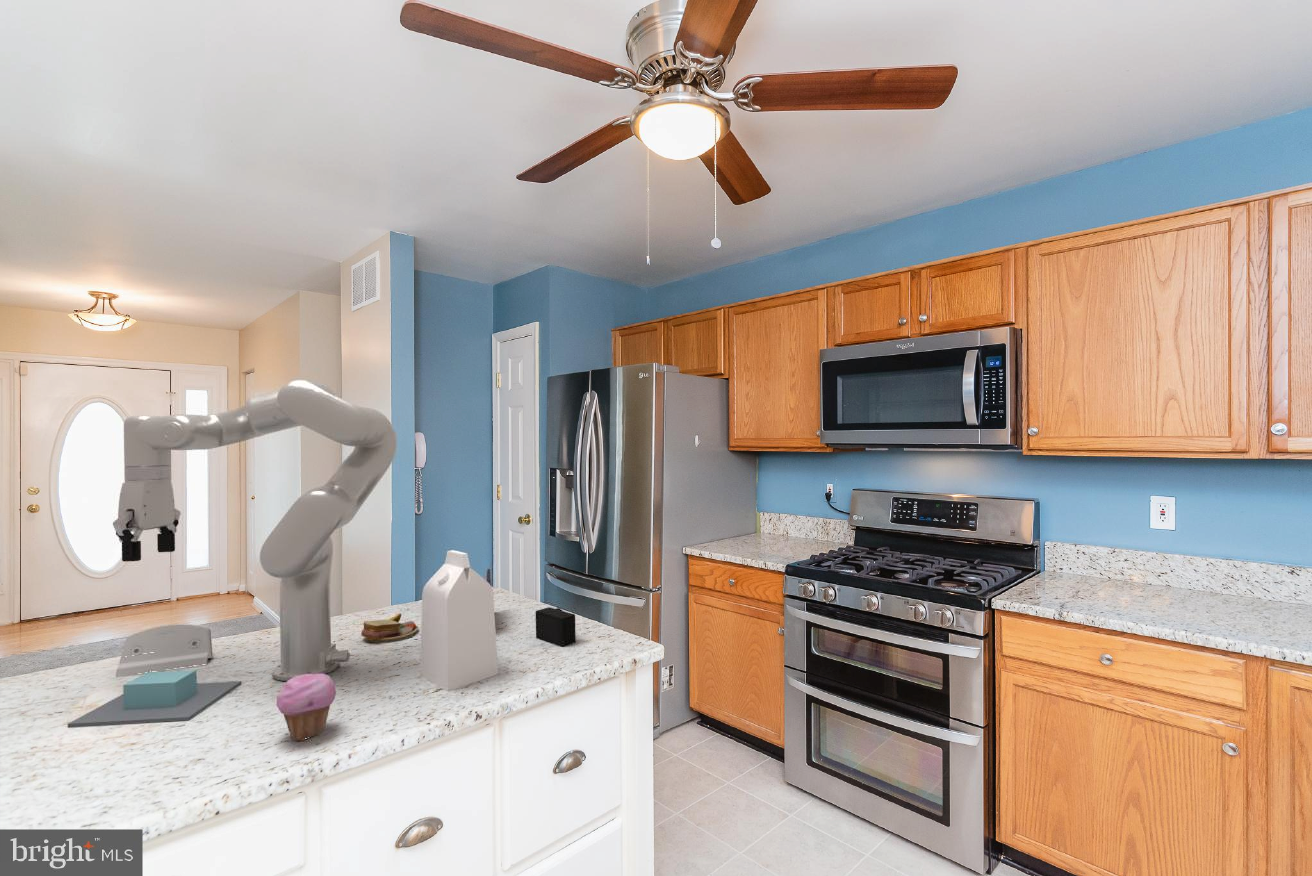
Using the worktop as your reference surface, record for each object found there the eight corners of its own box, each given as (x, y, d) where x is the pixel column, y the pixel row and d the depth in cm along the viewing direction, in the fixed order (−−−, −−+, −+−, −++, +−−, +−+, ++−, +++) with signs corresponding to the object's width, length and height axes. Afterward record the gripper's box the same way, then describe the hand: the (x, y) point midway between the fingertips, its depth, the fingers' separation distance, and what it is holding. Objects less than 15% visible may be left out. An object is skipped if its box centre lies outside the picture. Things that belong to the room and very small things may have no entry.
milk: (498, 674, 127) (496, 551, 127) (447, 691, 119) (445, 560, 119) (469, 660, 135) (467, 545, 135) (419, 675, 127) (417, 552, 127)
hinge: (113, 677, 128) (119, 629, 131) (121, 677, 132) (127, 630, 135) (208, 664, 135) (211, 618, 138) (213, 665, 139) (217, 620, 142)
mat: (241, 684, 124) (241, 681, 124) (188, 720, 108) (188, 717, 108) (137, 689, 122) (137, 686, 122) (67, 727, 106) (67, 723, 106)
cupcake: (271, 734, 102) (270, 675, 102) (327, 717, 108) (326, 661, 108) (285, 753, 96) (284, 690, 96) (343, 733, 102) (342, 675, 102)
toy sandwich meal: (425, 635, 153) (425, 617, 153) (369, 648, 144) (369, 629, 144) (408, 624, 163) (408, 607, 163) (354, 636, 154) (354, 617, 154)
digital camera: (580, 641, 147) (579, 613, 147) (562, 647, 143) (562, 618, 143) (553, 632, 154) (552, 605, 154) (535, 638, 150) (535, 610, 150)
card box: (147, 695, 117) (147, 672, 117) (196, 692, 118) (196, 670, 118) (123, 709, 111) (123, 685, 111) (175, 706, 112) (175, 682, 112)
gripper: (159, 472, 134) (160, 549, 134) (94, 477, 117) (95, 565, 117) (195, 472, 135) (196, 548, 135) (135, 477, 117) (137, 564, 117)
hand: (149, 556), depth 126 cm, fingers open, 9 cm apart
